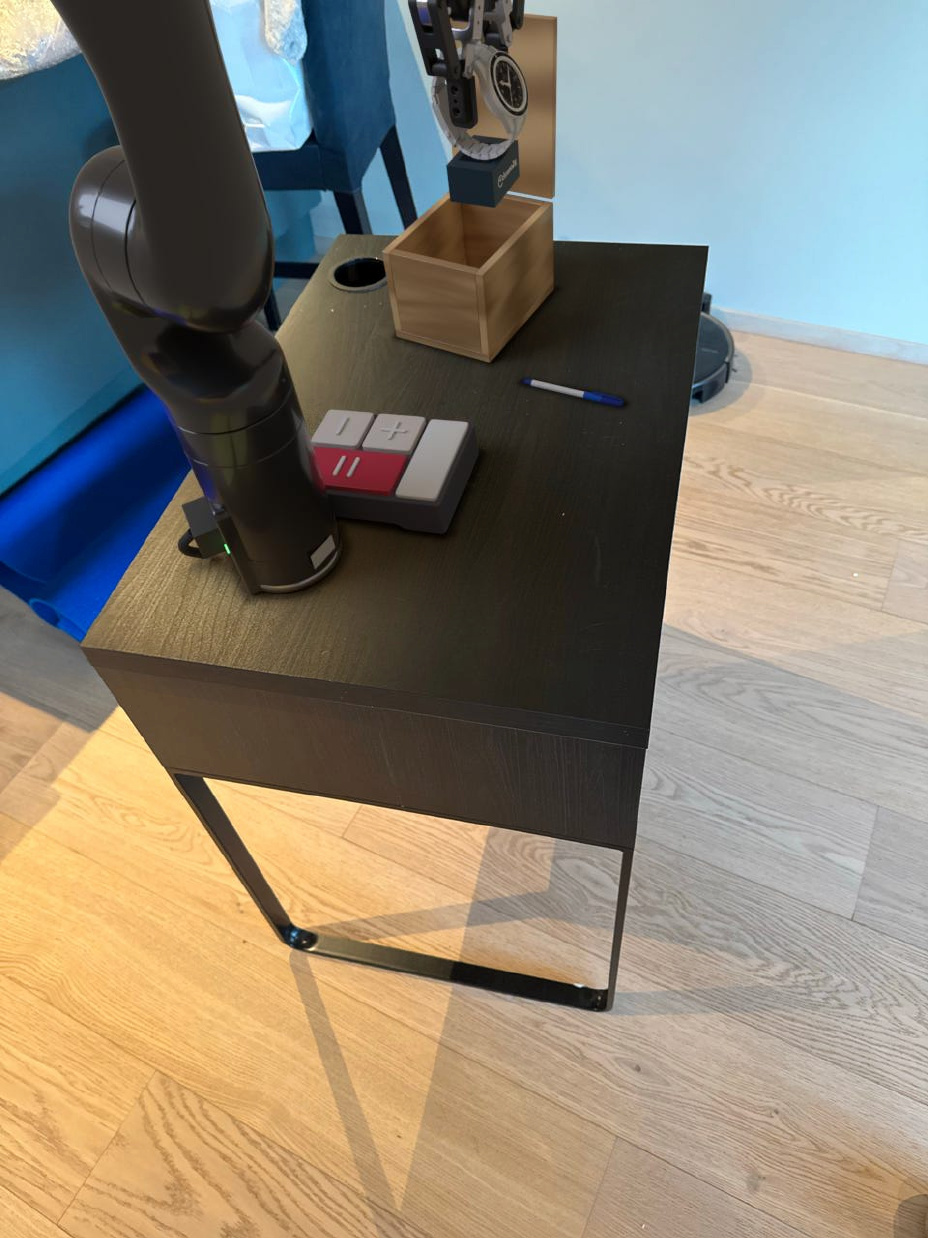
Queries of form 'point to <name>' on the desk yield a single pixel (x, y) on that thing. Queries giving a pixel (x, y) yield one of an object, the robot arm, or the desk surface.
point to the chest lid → (529, 105)
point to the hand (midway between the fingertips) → (481, 110)
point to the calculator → (395, 467)
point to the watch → (485, 160)
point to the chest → (471, 273)
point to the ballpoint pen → (577, 393)
